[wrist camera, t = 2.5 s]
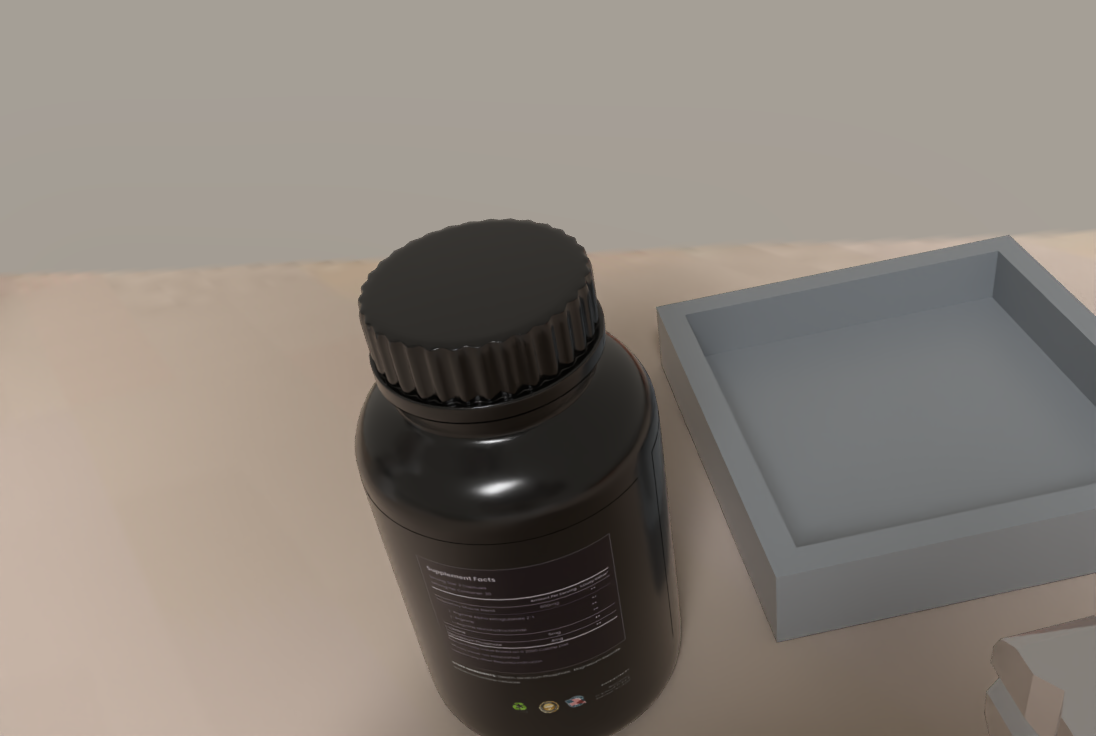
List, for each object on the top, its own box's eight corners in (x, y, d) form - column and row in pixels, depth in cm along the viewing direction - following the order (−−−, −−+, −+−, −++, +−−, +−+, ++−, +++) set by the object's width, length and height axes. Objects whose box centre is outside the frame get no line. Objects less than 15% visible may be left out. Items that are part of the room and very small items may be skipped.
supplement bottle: (435, 570, 31) (330, 214, 24) (665, 540, 31) (627, 171, 24) (423, 781, 26) (282, 401, 18) (702, 748, 25) (667, 348, 18)
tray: (776, 642, 27) (776, 578, 26) (661, 364, 37) (656, 307, 36) (1237, 541, 28) (1261, 472, 26) (1000, 294, 38) (1009, 234, 37)
